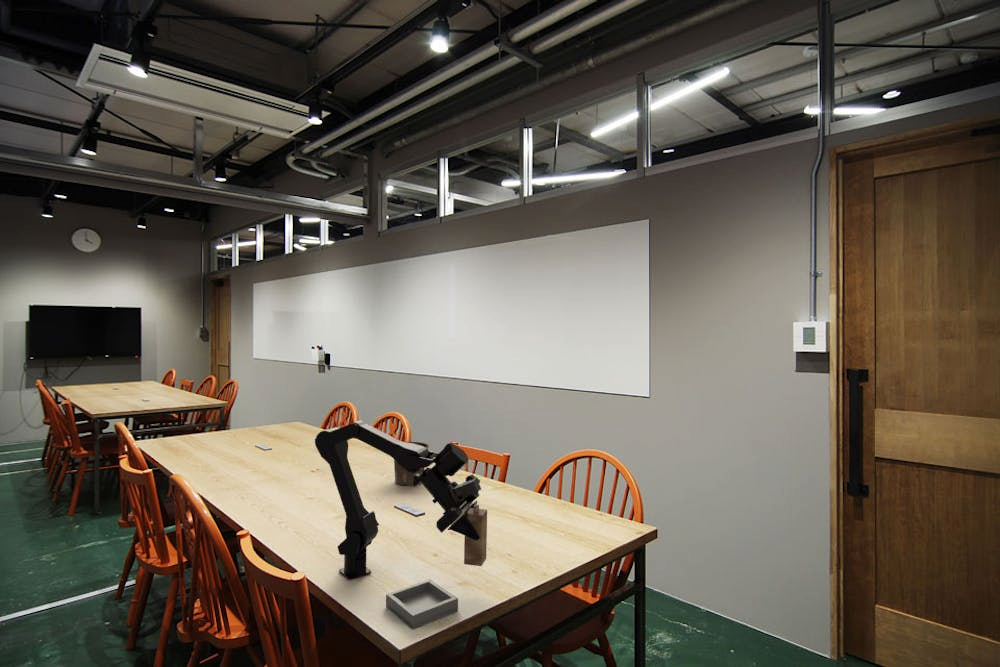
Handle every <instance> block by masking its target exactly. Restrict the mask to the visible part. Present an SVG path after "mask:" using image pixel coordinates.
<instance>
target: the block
mask: <svg viewBox="0 0 1000 667" xmlns="http://www.w3.org/2000/svg"><path fill="white" fill-rule="evenodd" d="M468 520H469V521H470V523H471V524H472V526H473V527H474V529H475V530H476V532H477V534H478V535H479V537H480V538H479V539H478V540H477V541H476V540H474V539H472V538H469V537H467V536H465V535H464V541H463V542H464V543H463V544H464V546H463V547H464V548H463V549H464V550H463V551H464V552H463V554H464V556H463V564H464V565H469V566H475V567H476V566H477V567H482V566H483V565H484V563H485V562H486V561H487V548H488V547H487V545H488V544H487V540H488V539H487V537H488V536H487V535H488V532H487V531H488V509H484V508H480V504H477V505H474V508H470V509H469V510H468Z"/></svg>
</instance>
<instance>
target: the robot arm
mask: <svg viewBox="0 0 1000 667" xmlns="http://www.w3.org/2000/svg"><path fill="white" fill-rule="evenodd" d="M351 439H357V440H359V441H361V442H363V443H364V444H366V445H368V446H370V447H372V448H374V449H376V450H378V451H380V452H382V453H384V454H386V455H388V456H389V457H391V458H392V459H393V461H394V460H395V461H396V463H397V464H398V465H399V466H401V467H402V468H403V469H405V470H406V471H408V472H410V473H414V472H417V471H419V470H421V469H422V468H425V469H424V471H423V472H422V473H421V474H416V475H414V482H413V485H412V486H413V488H415V487H416V486H418V485H420V483H421V484H422V485H423V487H424V488H425V489H426V490H427V491H428V493H429V494H430V495H431V496H432V498H433V499H432V503H434V505H436V504H438V505H439V506H440V507H441V508H442V510H444V512H443V513H442V516H441V517H439V519H438V520H437V521H436V528H437V530H438V531H439V532H440V533H441V534H442V533H444V532H445V531H446V530H448V531H452V532H455V533H459V534H460V535H463V536H464V537H465V536H467V537H469V538H472V539H474V540H476V541H477V540H478V539H479V538H480V537H479V535H478V534H477V532H476V530H475V529H474V527H473V526H472V524H471V523H470V521H469V520H468V510H469V509H470V508H474V505H478V500H477V498H478V497H480V494H479V491H481V490H482V487H481V485H480V483H481V480H480V479H479V478H478V476H475V475H474V474H469V475H467V476H466V477H465V481H464V482H462V483H460V484H458V482H457V481H451V480H450V479H449V478H448V477H453V476H455V474H457V473H458V472H459V471H460V470H461V469H462V468H463V467H464V466H465V465H466V464H467V463H468V462H469V457H468V454H467V453H466V451H464V450H463V448H462V449H461V448H460V447H459V446H458V445H455V444H454V443H453V442H452V441H450V442H448V443H447V444H446V445H445V446H444V447H443V449H441V451H440V452H436V451H431V450H429V448H428V449H427V448H425V447H423V446H420V445H417V444H413V443H406V442H407V441H401V440H400V439H397V438H395V437H393V436H391V435H389V434H387V433H386V432H384V431H381V430H380V429H378V428H376V427H374V426H371V425H370V424H367V423H366V422H365V421H364V420H357V421H353V422H350V423H349V424H347V425H345V426H343V427H338V426H336V427H331V428H329V429H325V430H322V431H320V432H318V433H317V434H316V437H315V438H314V444H315V445H314V446H315V448H316V449H317V452H318V453H319V455H320V457H321V458H322V459H323V460H324V461H325V462H326V463H327V464H328V465H329V467H330V471H331V473H332V478H333V479H334V480H333V481H334V483H335V486H336V489H337V491H338V495H339V498H340V501H341V503H342V504H341V505H342V506H343V510H344V512H345V525H344V530H345V536H346V537H345V539H344V540H343V541H342V542H340V543H339V545H337V550H338V553H339V555H340V556H344V558H343V560H344V561H343V568H339V569H338V572H339V573H340V574H341V575H342V576H344V577H345V578H346V579H347V580H352V579H356V578H359V577H363V576H366V575H369V574H371V573H372V570H371V569H370V568H369V567H367V551H368V550H367V548H368V546H370V545H371V544H372V542H373V540H374V539H375V538H376V537H377V536H378V533H379V527H378V526H380V524H379V522H378V521H377V518H376V512H375V511H374V510H373V511H371V512H369V511H368V510H367V509H366V508H365V505H364V504H363V501H362V497H361V495H360V492H359V489H358V486H357V483H356V479H355V477H354V475H353V471H352V468H351V465H350V462H349V459H348V453H349V440H351ZM432 464H434V465H433V466H432V467H430V466H431V465H432Z"/></svg>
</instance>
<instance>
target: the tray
mask: <svg viewBox="0 0 1000 667" xmlns="http://www.w3.org/2000/svg"><path fill="white" fill-rule="evenodd" d="M385 608H386V609H387V610H389V611H390V612H391V613H393V615H395V616H396V617H397V618H398V619H399V620H401V621H402V623H404V624H405V625H407V626H408V628H410V629H411V630H412V631H414V630H415V629H418V628H420V627H423V626H425V625H428V624H431V623H433V622H435V621H437V620H440V619H442V618H445V617H447V616H449V615H452V614H454V613H457V612H459V598H458V597H457V596H456V595H454V594H453V593H452V592H450V591H448V589H445V588H444V587H443V586H441V585H440V584H438V583H436V582H435V581H434V580H432V579H431V578H430V579H426V580H424V581H421V582H417V583H414V584H411V585H408V586H406V587H402V588H400V589H398V590H394V591H391V592H389V593H388V592H387V593H386V594H385Z"/></svg>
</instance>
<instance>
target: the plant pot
mask: <svg viewBox="0 0 1000 667" xmlns="http://www.w3.org/2000/svg"><path fill="white" fill-rule="evenodd" d="M405 442H406V443H413V444H417V445H420V446H423V447H425V448H427V449H428V450H429V447H430V445H429V444H428V443H425V442H419V441H405ZM393 464H394V465H393V466H394V482H395V484H397V485H399V484H400V486H404V485H406V486H408V485H409V486H413V482H414V475H416V474H421V473H422V472H423V471H424V470H425V469H426V468H422V469H421V470H419V471H417V472H414V473H410V472H408V471H406V470H405V469H403V468H402V467H401V466H399V465H398V464H397V463H396V461H395V460H394V459H393Z"/></svg>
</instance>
